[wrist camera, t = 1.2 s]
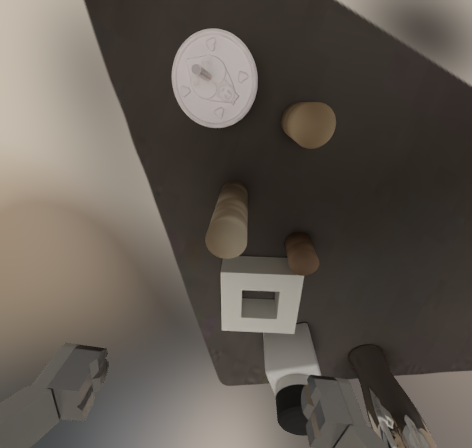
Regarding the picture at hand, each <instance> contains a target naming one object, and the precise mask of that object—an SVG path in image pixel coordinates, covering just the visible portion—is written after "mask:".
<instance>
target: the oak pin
mask: <svg viewBox="0 0 472 448" xmlns="http://www.w3.org/2000/svg"><path fill="white" fill-rule="evenodd" d="M281 127H282V129H283V131H284V132H285V133H286V134H287V135H288V136H289V137H291V138H292V139H293V140H294V141H295V142H296V143H298V144H299V145H300V146H302V147H304V148H309V149H313V148H318V147H320V146H322V145H324V144H325V143H326V142H328V141H329V139H330V138H331V137H332V135H333V133H334V131H335V127H336V117H335V114H334V112H333V110H332V109H331V108H330V107H329V106H328V105H326V104H324V103H321V102H297V103H293V104H291V105H289V106H288V107H287V108H286V109H285V110H284V112H283V114H282V117H281Z"/></svg>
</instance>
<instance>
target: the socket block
mask: <svg viewBox="0 0 472 448" xmlns="http://www.w3.org/2000/svg"><path fill="white" fill-rule="evenodd" d="M303 280H304V276H300V275H297V274H295V273H293V272H292V271H291V269H290V266H289V262H288V258H278V257H252V256H237V257H235V258H230V259H224V258H223V261H222V267H221V315H222V330H224V331H244V332H264V333H284V334H294V333H295V327H296V321H297V315H298V310H299V304H300V298H301V292H302V286H303ZM242 290H251V291H274V292H275V297H274V299H251V298H242Z"/></svg>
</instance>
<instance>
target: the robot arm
mask: <svg viewBox="0 0 472 448" xmlns="http://www.w3.org/2000/svg"><path fill="white" fill-rule="evenodd" d="M107 354H108V353H107V349H106V348H100V347H93V346H85V345H79V344H71V343H65V344H64V345H62V346H61V347H60V349H59V350H58V351H57V352H56V354H55V355H54V357H53V358H52V359H51V360H50V362H49V363H48V364H47V366H46V367H45V368H44V369H43V371H42V372H41V373H40V375H39V376H38V377H37V379H36V380H35V382H34V383H33V384H32V385H31V387H28V386H26V387H25V388H23V389H21V390H20V391H18V392H17V393H15V394H14V395H12V396H10V397H9V398H7V399H6V400H4V401H3V402H1V403H0V448H30V447H31V446H33V445H34V444H35V443H36V442H37V441H38V440H39V439H40V438H41V437H43V436H44V435H45V434H46V433H47V432H48V431H49V430H50V429H51V428H52V427H54V426H55V425H56V424H57V423H58V422H59V419H61V420H62V419H63V420H73V421H85V419H86V417H87V415H88V413H89V411H90V409H91V407H92V405H93V403H94V401H95V400H94V393H95V392H97V391H98V390H99V389H101V387H102V385H103V383H104V381H105V379H106V376H107V373H108V367H109V364H108V361H107V360H106V359H105V358H106V356H107ZM307 382H308V384H307V385H305V386H304V387H303V390H302V393H301V405H302V411H303V414H304V415H305V416H306V418H307V419H308V421H307V424H306V431H307V436H308V440H309V445H310V447H312V448H389V447H388V446H387V445H386V444H385V443H384V441H383V440H382V439H381V438H380V437H379V436H378V435H377V434H376V432H375V431H374V430H373V429H372V428H369V427H367V425H366V422H365V420H364V417H363V414H362V412H361V409H360V407H359V404H358V402H357V399H356V397H355V394H354V392H353V389H352V387H351V384H350V382H349V381H348V380H347V379H342V378H334V377H327V376H318V375H310V376H309V377H308V379H307Z"/></svg>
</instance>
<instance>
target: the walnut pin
mask: <svg viewBox="0 0 472 448" xmlns="http://www.w3.org/2000/svg"><path fill="white" fill-rule="evenodd" d="M284 245H285V249H286V253H287V257H288V262H289V266H290V269H291V271H292V272H293V273H295V274H297V275H300V276H307V275H310V274H312V273H314V272H315V271H316V270H317V269H318V267H319V259H318V257H317V254H316V252H315V250H314V247H313V245H312V243H311V241H310V238H309V237H308V235H306V234H305V233H302V232H295V233H292V234H290V235H289V236H288V237H287V238H286V240H285V243H284Z"/></svg>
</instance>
